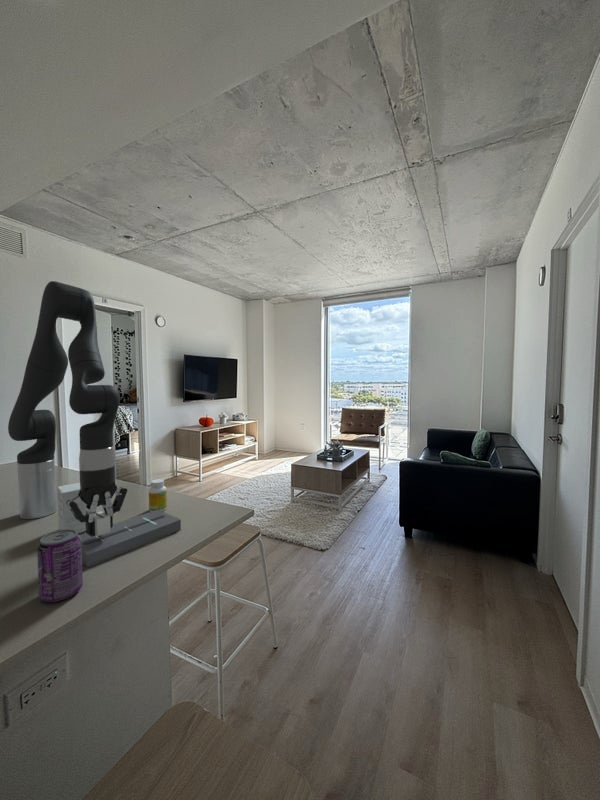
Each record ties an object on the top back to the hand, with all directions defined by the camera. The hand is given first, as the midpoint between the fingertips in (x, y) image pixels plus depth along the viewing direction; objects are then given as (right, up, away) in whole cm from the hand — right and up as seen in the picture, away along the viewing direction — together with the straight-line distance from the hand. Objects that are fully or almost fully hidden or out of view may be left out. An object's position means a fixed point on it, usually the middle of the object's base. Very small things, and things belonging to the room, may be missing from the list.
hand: (99, 532), depth 83 cm
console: (+4, -4, +6) cm, 8 cm away
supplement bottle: (+3, -3, +26) cm, 27 cm away
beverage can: (+2, -6, -16) cm, 18 cm away
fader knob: (0, -1, 0) cm, 1 cm away
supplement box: (-14, -4, +12) cm, 19 cm away
